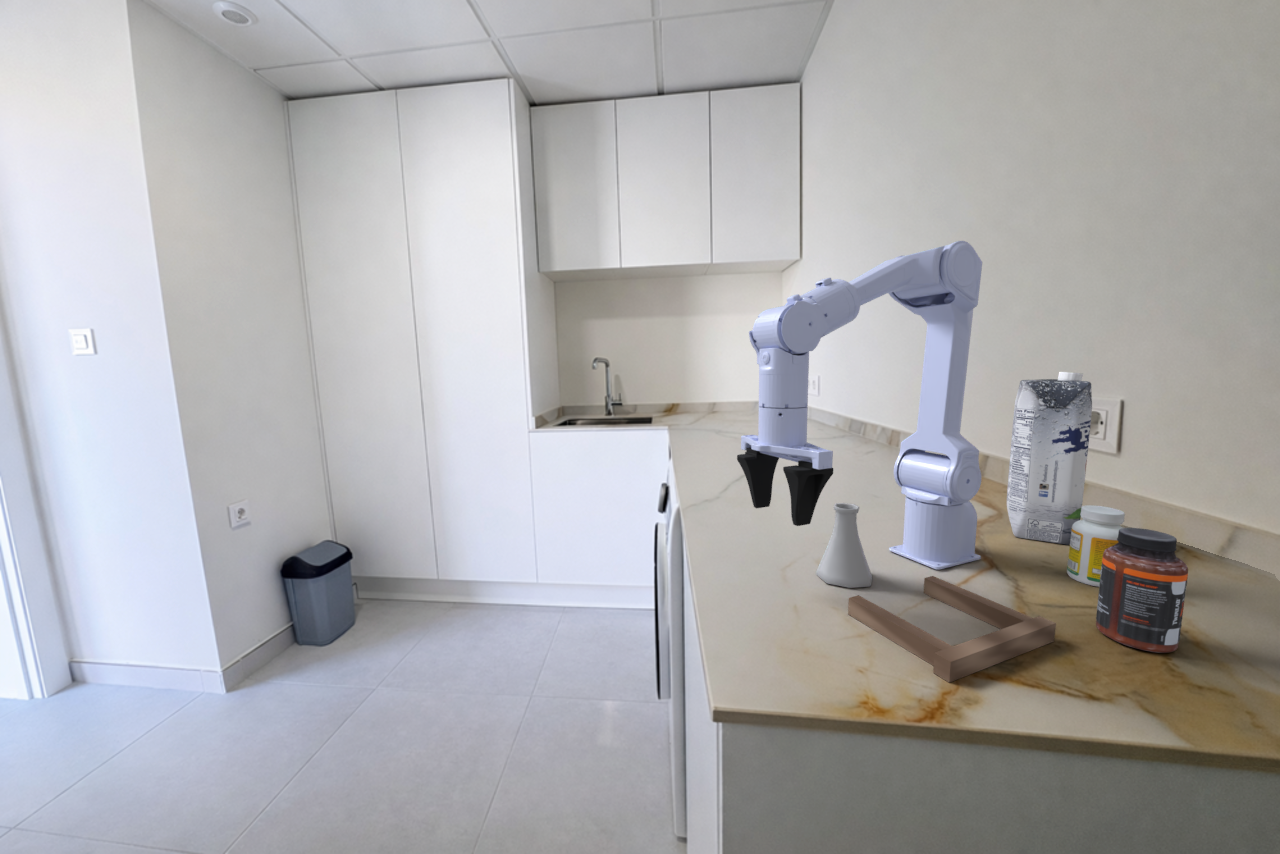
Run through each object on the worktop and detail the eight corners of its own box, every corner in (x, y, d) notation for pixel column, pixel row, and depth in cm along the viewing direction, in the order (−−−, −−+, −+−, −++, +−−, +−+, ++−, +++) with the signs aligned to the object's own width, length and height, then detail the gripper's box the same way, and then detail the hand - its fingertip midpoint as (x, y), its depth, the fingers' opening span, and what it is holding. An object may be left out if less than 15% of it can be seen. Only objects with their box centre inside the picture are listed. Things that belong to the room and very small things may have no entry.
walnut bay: (937, 589, 60) (938, 574, 59) (1054, 641, 48) (1056, 622, 48) (841, 616, 54) (842, 599, 53) (949, 682, 42) (950, 662, 42)
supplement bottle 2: (1196, 660, 45) (1212, 546, 43) (1119, 651, 46) (1132, 541, 45) (1148, 627, 50) (1161, 526, 49) (1081, 620, 52) (1092, 521, 51)
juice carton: (1007, 538, 77) (1021, 372, 73) (1003, 520, 85) (1015, 371, 82) (1081, 549, 72) (1099, 372, 68) (1069, 529, 80) (1085, 371, 77)
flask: (880, 592, 59) (884, 515, 58) (819, 587, 61) (822, 512, 59) (865, 568, 66) (868, 499, 65) (811, 564, 68) (813, 497, 67)
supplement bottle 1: (1057, 575, 63) (1064, 506, 62) (1081, 568, 65) (1088, 501, 64) (1108, 592, 58) (1116, 518, 57) (1133, 585, 60) (1142, 512, 59)
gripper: (722, 404, 62) (721, 503, 64) (797, 413, 49) (794, 538, 50) (765, 402, 65) (764, 497, 66) (849, 409, 51) (844, 529, 53)
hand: (780, 515), depth 59 cm, fingers open, 7 cm apart
